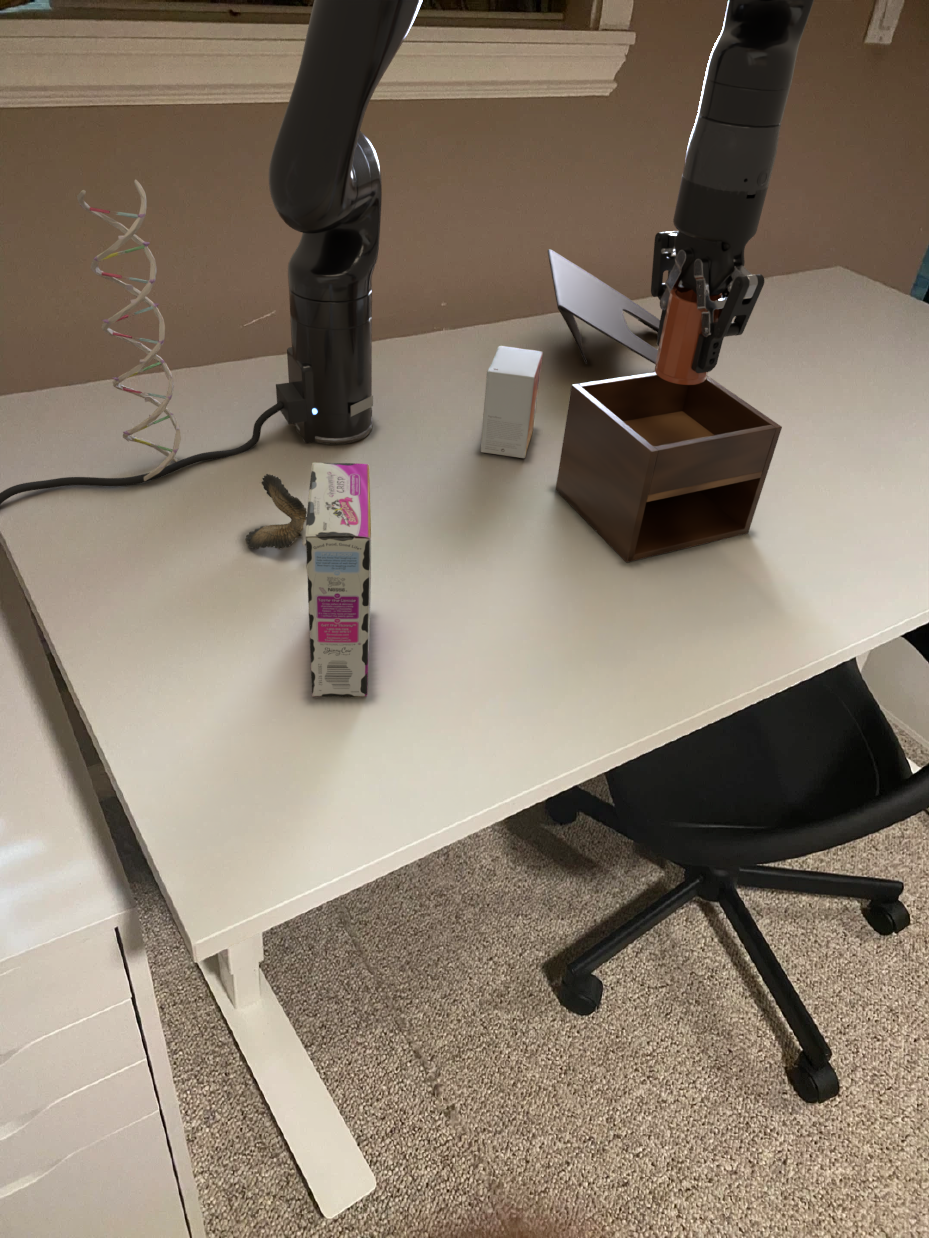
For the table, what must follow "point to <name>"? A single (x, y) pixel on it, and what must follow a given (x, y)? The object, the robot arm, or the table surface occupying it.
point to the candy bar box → (339, 578)
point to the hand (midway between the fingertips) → (684, 358)
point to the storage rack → (663, 462)
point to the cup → (681, 339)
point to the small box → (510, 401)
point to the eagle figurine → (285, 532)
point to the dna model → (134, 303)
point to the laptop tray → (597, 307)
